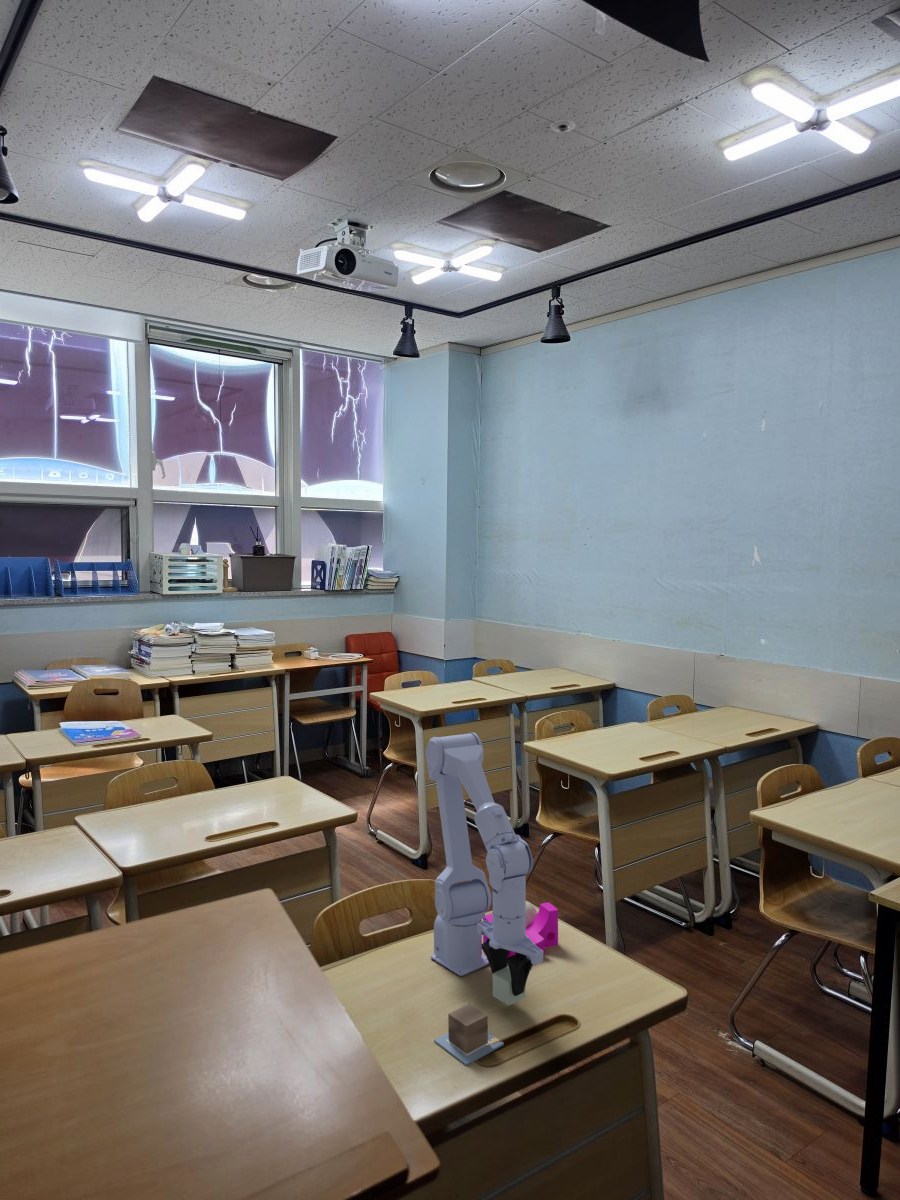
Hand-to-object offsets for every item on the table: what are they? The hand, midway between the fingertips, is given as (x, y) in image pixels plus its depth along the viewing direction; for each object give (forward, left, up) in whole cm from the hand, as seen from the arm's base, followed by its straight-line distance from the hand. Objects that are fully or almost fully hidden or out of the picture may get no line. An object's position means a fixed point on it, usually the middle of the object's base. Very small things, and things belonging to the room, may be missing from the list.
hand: (509, 987), depth 137 cm
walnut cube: (+3, -12, -3) cm, 13 cm away
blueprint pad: (+3, -12, -4) cm, 13 cm away
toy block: (-12, +16, -4) cm, 21 cm away
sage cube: (0, 0, -2) cm, 2 cm away
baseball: (-18, +21, -4) cm, 28 cm away
